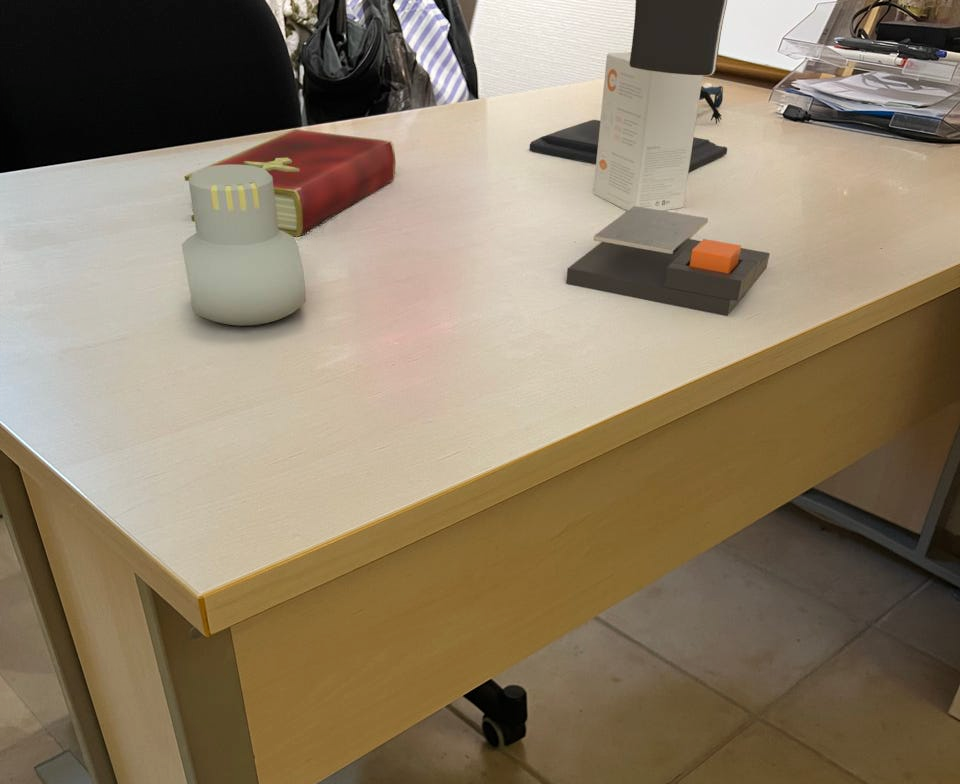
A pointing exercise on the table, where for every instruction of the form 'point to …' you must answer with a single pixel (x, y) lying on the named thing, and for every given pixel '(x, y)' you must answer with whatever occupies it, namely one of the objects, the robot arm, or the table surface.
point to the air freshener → (240, 249)
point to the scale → (667, 276)
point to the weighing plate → (651, 230)
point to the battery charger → (677, 36)
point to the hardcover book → (318, 174)
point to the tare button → (715, 256)
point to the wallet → (584, 145)
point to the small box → (645, 135)
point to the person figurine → (706, 92)
